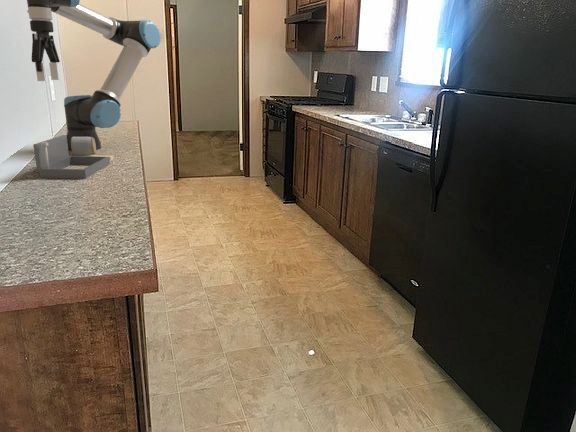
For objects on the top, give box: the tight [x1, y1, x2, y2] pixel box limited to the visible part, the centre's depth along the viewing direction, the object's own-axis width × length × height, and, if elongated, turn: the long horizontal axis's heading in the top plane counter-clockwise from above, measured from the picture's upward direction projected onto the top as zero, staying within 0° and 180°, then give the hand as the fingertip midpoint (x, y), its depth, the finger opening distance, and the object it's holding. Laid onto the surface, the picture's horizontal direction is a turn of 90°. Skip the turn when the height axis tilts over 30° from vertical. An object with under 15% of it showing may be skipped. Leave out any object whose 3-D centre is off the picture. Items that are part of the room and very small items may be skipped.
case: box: [32, 134, 111, 180], centre depth 166 cm, size 24×16×11 cm, turn 1°
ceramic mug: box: [71, 137, 97, 156], centre depth 187 cm, size 11×8×8 cm
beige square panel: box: [87, 153, 117, 161], centre depth 187 cm, size 14×14×1 cm
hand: (48, 80), depth 180 cm, fingers open, 13 cm apart
